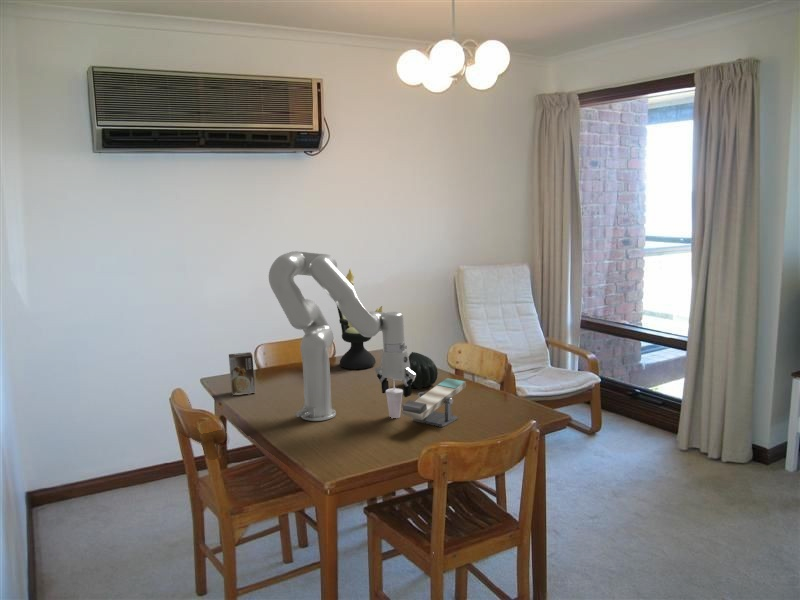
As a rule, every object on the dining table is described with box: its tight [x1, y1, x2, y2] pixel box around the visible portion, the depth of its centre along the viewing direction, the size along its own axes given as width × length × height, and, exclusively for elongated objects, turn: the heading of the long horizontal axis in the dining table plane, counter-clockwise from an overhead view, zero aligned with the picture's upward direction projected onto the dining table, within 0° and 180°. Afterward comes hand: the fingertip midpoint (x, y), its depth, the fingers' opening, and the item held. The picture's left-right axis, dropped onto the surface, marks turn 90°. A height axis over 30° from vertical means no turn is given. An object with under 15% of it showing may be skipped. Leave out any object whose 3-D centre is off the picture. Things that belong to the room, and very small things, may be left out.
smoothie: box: [384, 379, 404, 419], centre depth 236 cm, size 6×6×14 cm
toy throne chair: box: [336, 268, 384, 370], centre depth 306 cm, size 19×22×45 cm
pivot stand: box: [412, 391, 458, 428], centre depth 232 cm, size 10×14×9 cm
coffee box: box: [228, 351, 256, 395], centre depth 268 cm, size 9×6×16 cm
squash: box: [405, 351, 438, 390], centre depth 273 cm, size 14×15×15 cm
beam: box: [401, 377, 467, 420], centre depth 231 cm, size 29×8×4 cm, turn 144°
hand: (396, 394), depth 236 cm, fingers open, 9 cm apart
